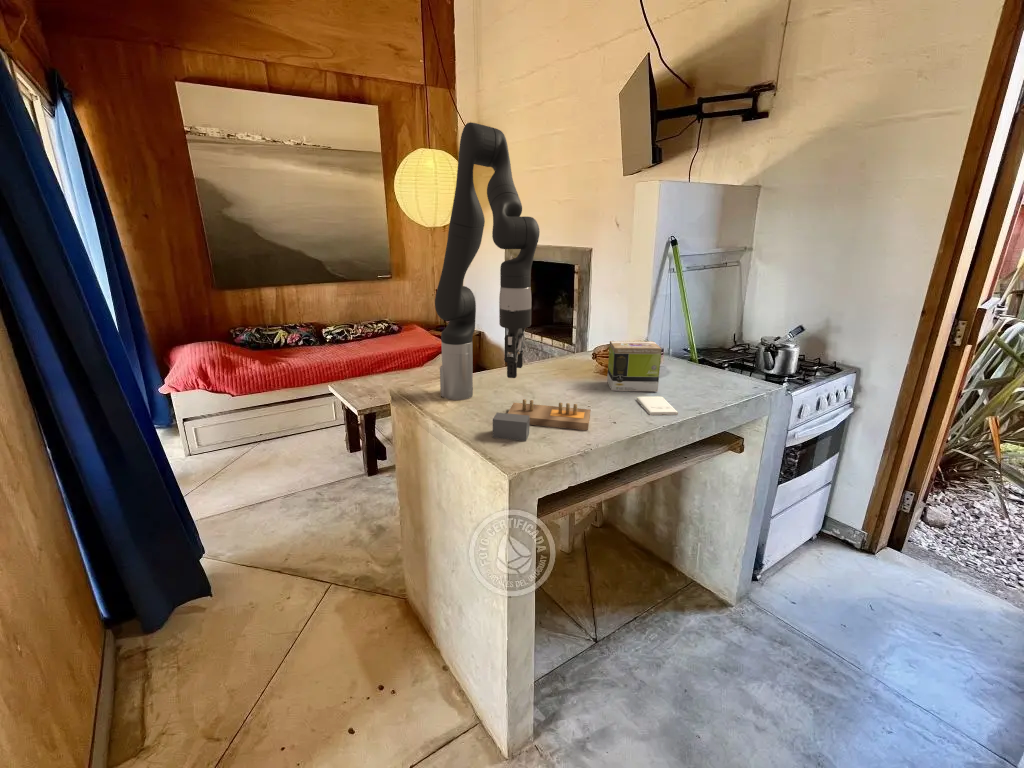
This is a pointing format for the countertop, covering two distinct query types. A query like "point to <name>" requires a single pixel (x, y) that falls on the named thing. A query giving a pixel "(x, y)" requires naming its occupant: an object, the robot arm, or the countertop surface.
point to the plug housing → (511, 426)
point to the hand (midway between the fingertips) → (515, 372)
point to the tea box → (634, 366)
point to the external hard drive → (656, 406)
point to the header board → (553, 415)
